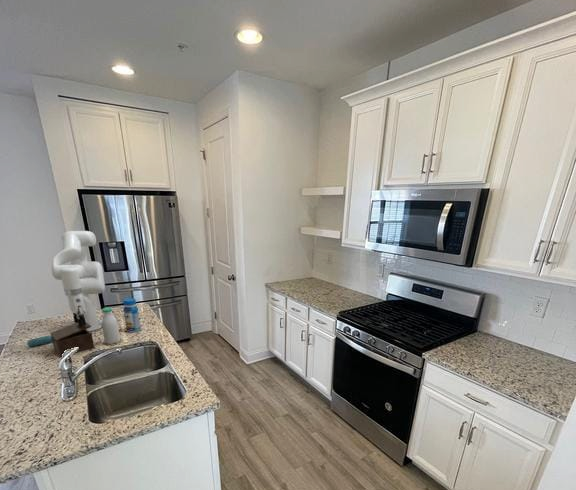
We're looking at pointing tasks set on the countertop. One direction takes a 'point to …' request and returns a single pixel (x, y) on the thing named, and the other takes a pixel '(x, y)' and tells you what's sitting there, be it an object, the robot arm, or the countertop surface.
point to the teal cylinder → (39, 341)
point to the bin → (74, 342)
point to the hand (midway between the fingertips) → (80, 323)
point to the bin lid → (68, 331)
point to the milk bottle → (110, 327)
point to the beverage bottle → (131, 315)
